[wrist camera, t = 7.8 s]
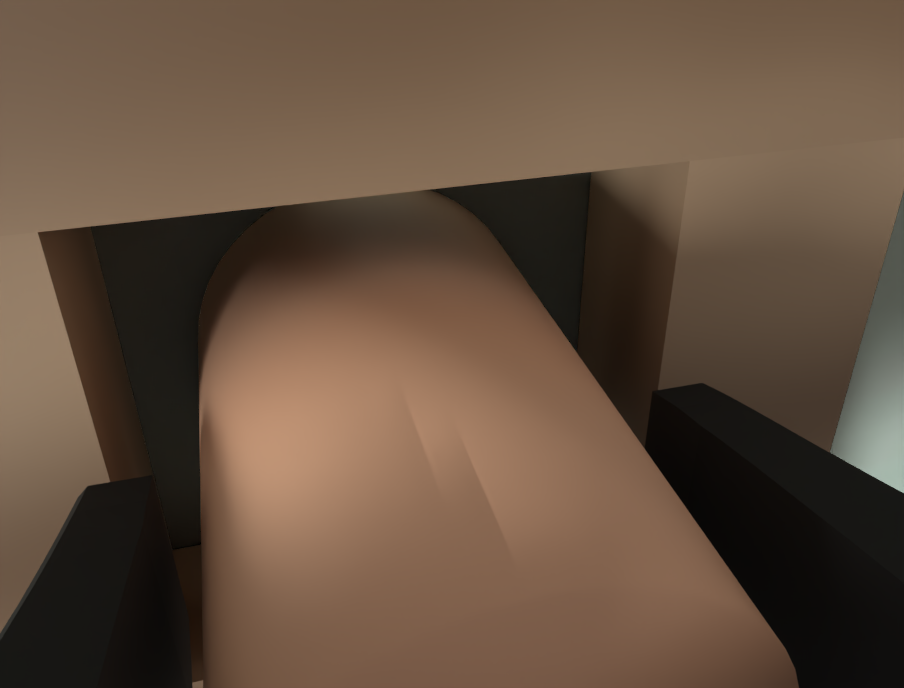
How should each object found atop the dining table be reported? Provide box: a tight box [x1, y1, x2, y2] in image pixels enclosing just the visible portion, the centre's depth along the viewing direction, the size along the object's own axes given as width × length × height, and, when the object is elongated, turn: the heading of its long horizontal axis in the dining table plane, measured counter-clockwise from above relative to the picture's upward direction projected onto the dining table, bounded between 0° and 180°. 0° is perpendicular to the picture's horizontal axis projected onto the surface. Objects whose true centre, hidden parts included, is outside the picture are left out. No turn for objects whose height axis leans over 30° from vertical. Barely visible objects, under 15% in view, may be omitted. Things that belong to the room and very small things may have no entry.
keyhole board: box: [0, 0, 904, 688], centre depth 11 cm, size 12×12×2 cm
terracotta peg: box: [198, 190, 799, 688], centre depth 9 cm, size 4×4×7 cm
